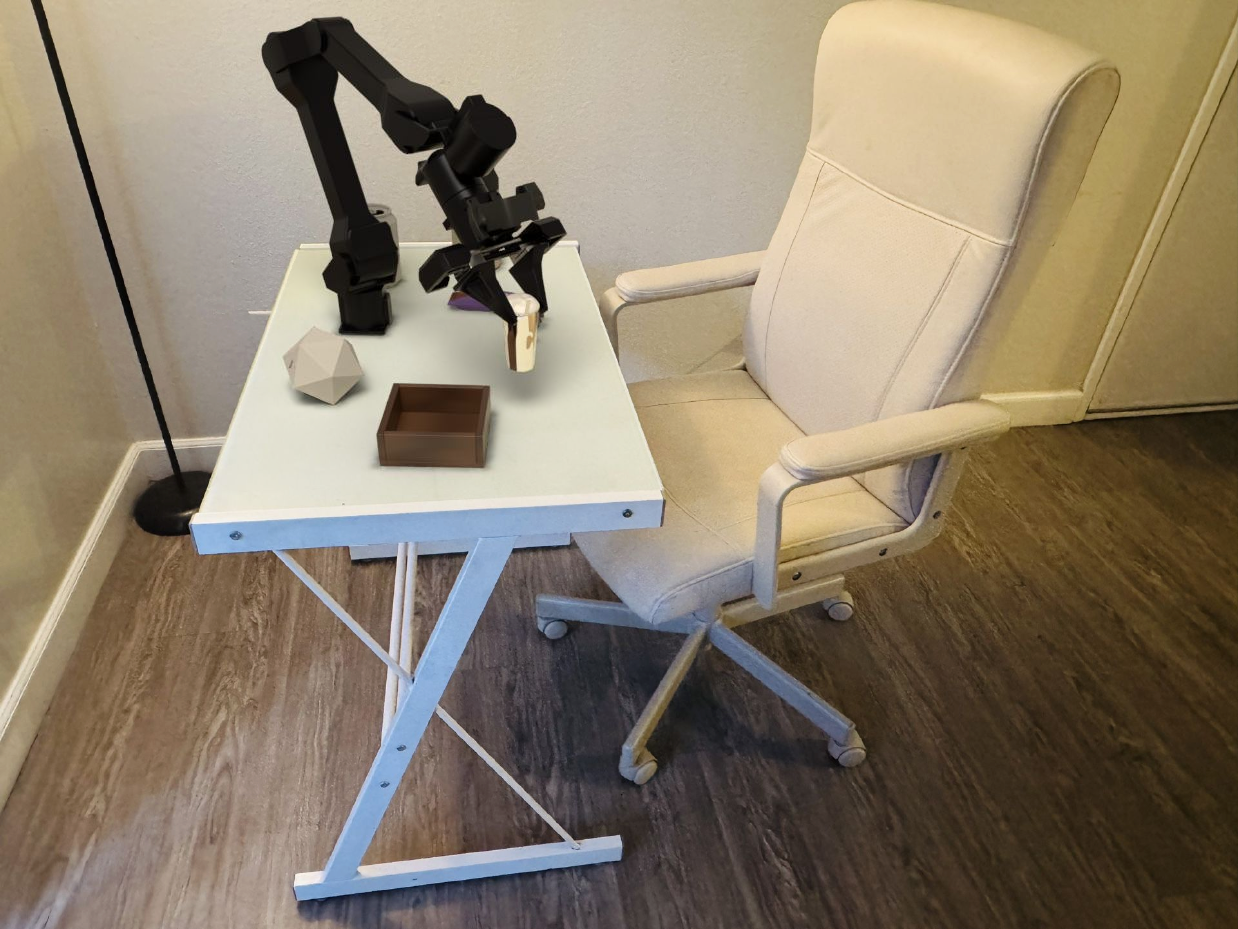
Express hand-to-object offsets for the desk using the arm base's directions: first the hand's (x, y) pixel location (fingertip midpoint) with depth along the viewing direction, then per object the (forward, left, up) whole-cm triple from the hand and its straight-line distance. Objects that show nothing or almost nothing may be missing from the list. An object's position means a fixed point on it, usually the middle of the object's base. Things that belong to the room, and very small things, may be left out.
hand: (530, 317), depth 100 cm
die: (-26, +4, -13) cm, 29 cm away
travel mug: (-11, +49, -13) cm, 52 cm away
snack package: (-8, +32, -13) cm, 36 cm away
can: (-26, +40, -13) cm, 50 cm away
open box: (-11, -6, -13) cm, 18 cm away
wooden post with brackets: (-1, +24, -13) cm, 28 cm away
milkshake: (-1, +1, -7) cm, 7 cm away
